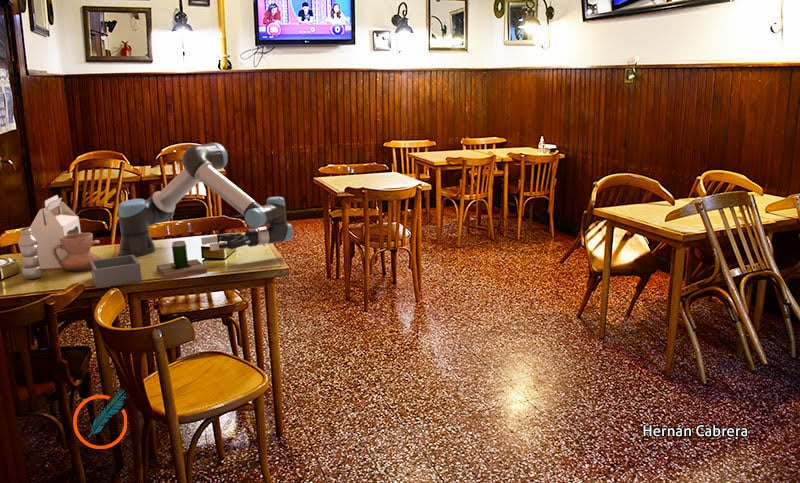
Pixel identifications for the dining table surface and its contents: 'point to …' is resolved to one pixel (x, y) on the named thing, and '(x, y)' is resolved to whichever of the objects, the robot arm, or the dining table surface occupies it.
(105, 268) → the bin
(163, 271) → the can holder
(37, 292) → the dining table surface
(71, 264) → the ceramic jug
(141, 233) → the robot arm
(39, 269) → the plastic bottle
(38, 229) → the gable box
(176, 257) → the beer can
